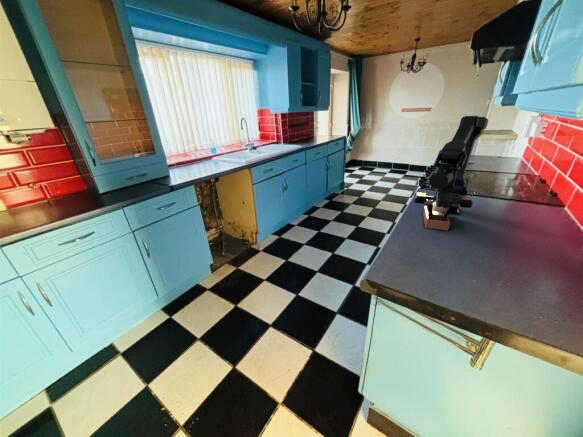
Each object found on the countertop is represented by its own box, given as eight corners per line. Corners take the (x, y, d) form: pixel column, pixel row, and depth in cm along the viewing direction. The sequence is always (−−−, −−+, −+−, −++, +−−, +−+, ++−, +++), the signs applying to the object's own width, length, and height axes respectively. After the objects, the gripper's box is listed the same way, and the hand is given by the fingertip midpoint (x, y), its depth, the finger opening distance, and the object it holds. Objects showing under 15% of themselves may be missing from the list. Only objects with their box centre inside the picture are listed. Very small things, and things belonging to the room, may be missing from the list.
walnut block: (430, 219, 97) (432, 210, 95) (441, 220, 95) (443, 211, 94) (431, 223, 94) (433, 214, 92) (442, 224, 92) (444, 215, 90)
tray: (425, 227, 93) (427, 219, 92) (423, 213, 106) (424, 206, 104) (448, 230, 90) (450, 222, 89) (443, 215, 103) (445, 207, 101)
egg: (440, 214, 102) (443, 200, 99) (441, 219, 98) (445, 204, 95) (427, 213, 104) (430, 199, 101) (428, 217, 100) (431, 203, 97)
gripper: (418, 186, 85) (411, 225, 91) (481, 190, 77) (469, 232, 84) (417, 178, 94) (410, 213, 100) (474, 181, 86) (463, 219, 93)
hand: (436, 219), depth 94 cm, fingers closed on walnut block, 4 cm apart
